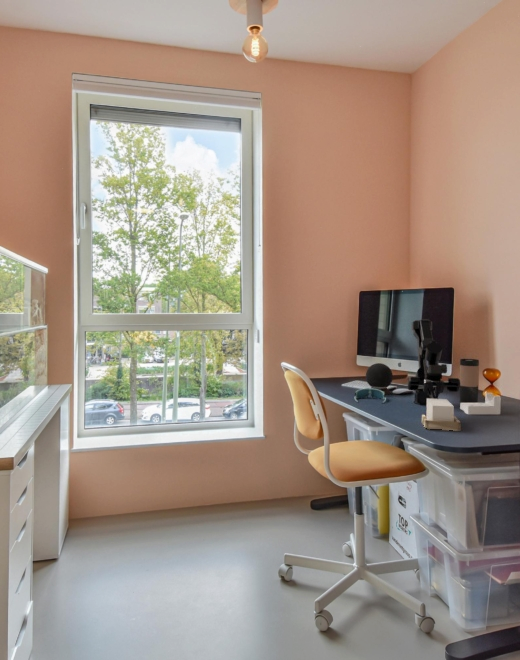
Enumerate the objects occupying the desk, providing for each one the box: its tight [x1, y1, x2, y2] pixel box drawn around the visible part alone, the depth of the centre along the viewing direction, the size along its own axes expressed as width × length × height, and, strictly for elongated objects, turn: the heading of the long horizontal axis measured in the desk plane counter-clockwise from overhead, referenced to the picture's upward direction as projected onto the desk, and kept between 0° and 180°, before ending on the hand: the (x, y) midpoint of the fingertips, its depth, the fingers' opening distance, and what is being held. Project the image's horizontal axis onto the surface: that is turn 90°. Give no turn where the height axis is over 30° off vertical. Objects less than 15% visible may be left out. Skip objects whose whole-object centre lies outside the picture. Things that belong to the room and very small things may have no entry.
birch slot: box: [421, 414, 462, 432], centre depth 167 cm, size 10×12×3 cm
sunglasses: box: [354, 387, 387, 404], centre depth 216 cm, size 14×15×5 cm
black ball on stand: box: [365, 362, 394, 395], centre depth 236 cm, size 13×13×15 cm
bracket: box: [459, 392, 502, 415], centre depth 191 cm, size 13×7×8 cm, turn 91°
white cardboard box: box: [425, 398, 455, 421], centre depth 171 cm, size 14×7×8 cm, turn 169°
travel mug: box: [459, 358, 480, 404], centre depth 206 cm, size 8×8×20 cm
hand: (435, 402), depth 178 cm, fingers closed
